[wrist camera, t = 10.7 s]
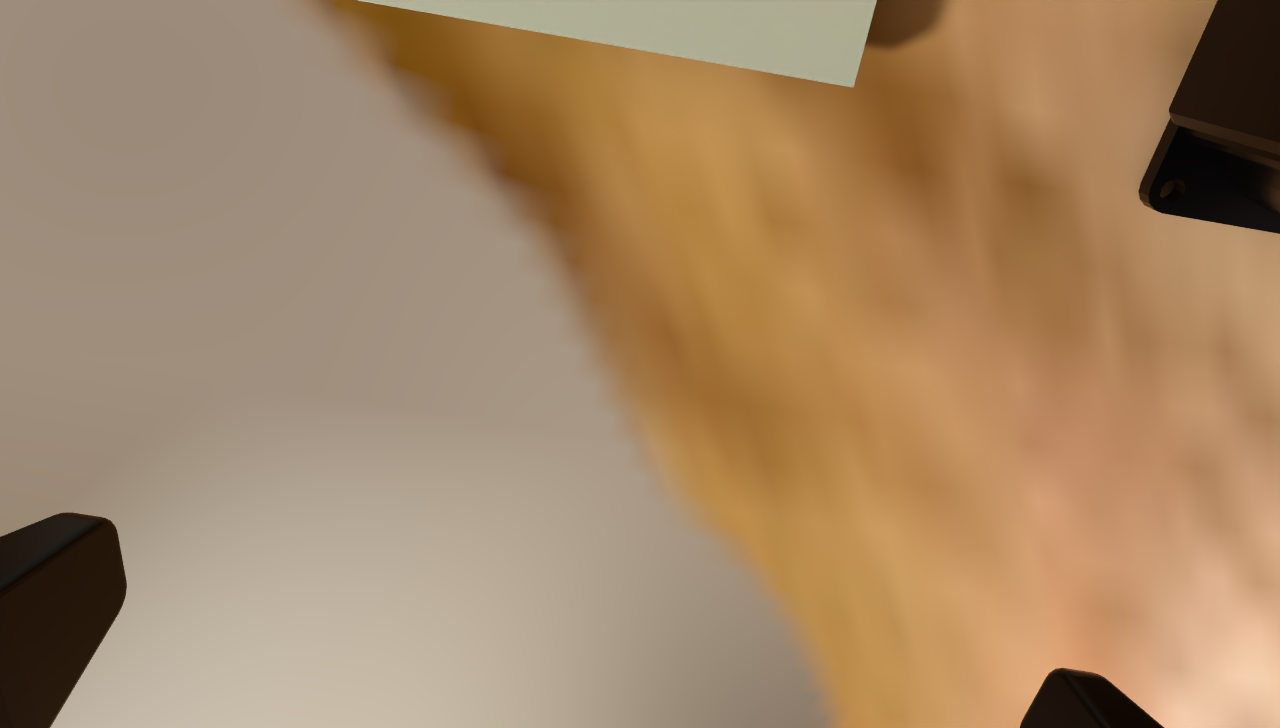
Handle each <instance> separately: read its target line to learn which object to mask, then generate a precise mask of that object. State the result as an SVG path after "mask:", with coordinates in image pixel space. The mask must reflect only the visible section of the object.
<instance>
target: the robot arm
mask: <svg viewBox="0 0 1280 728" xmlns="http://www.w3.org/2000/svg"><path fill="white" fill-rule="evenodd" d="M1169 113H1170V116H1171V117H1170V120H1169V122H1168V124H1167V126H1166V129H1165V131H1164V133H1163V135H1162V137H1161V140H1160V142H1159V144H1158V146H1157V148H1156V151H1155V153H1154V155H1153V157H1152V159H1151V162H1150V164H1149V166H1148V168H1147V170H1146V173H1145V175H1144V177H1143V179H1142V182H1141V184H1140V188H1139V196H1140V200H1141V201H1142V202H1143V203H1144V205H1145V206H1147V207H1149V208H1152V209H1154V210H1156V211H1158V212H1161V213H1164V214H1170V215H1176V216H1181V217H1187V218H1193V219H1199V220H1204V221H1210V222H1216V223H1222V224H1227V225H1233V226H1239V227H1245V228H1250V229H1256V230H1262V231H1268V232H1273V233H1279V234H1280V0H1218V1H1217V3H1216V5H1215V8H1214V10H1213V12H1212V14H1211V17H1210V19H1209V21H1208V23H1207V25H1206V28H1205V30H1204V32H1203V34H1202V37H1201V39H1200V41H1199V43H1198V45H1197V48H1196V50H1195V52H1194V54H1193V57H1192V59H1191V61H1190V63H1189V65H1188V68H1187V70H1186V72H1185V74H1184V77H1183V79H1182V81H1181V83H1180V85H1179V88H1178V90H1177V92H1176V94H1175V97H1174V99H1173V101H1172V103H1171V106H1170V108H1169ZM1171 180H1174V181H1175V185H1174V189H1173V190H1172V192H1171V193H1170V194H1169V195H1167V196H1165V197H1163V198H1161V196H1160V193H1161V189H1162V187H1163V186H1164V185H1165V183H1167V182H1169V181H1171ZM126 588H127V583H126V577H125V571H124V566H123V561H122V555H121V550H120V544H119V539H118V533H117V529H116V527H115V525H114V524H113V523H112V522H111V521H110V520H108V519H106V518H103V517H97V516H91V515H84V514H78V513H60V514H57V515H54V516H51V517H49V518H46V519H44V520H41V521H39V522H36V523H34V524H31V525H29V526H26V527H24V528H21V529H19V530H16V531H14V532H11V533H9V534H7V535H4V536H1V537H0V728H50V727H51V725H52V724H53V722H54V720H55V719H56V717H57V715H58V713H59V712H60V710H61V709H62V707H63V705H64V704H65V702H66V700H67V698H68V697H69V695H70V694H71V692H72V690H73V688H74V687H75V685H76V684H77V682H78V680H79V678H80V677H81V675H82V674H83V672H84V670H85V668H86V667H87V665H88V664H89V662H90V660H91V658H92V657H93V655H94V653H95V652H96V650H97V649H98V647H99V645H100V643H101V642H102V640H103V639H104V637H105V635H106V633H107V632H108V630H109V628H110V627H111V625H112V624H113V622H114V620H115V618H116V617H117V615H118V613H119V611H120V609H121V607H122V605H123V602H124V599H125V596H126ZM1020 728H1164V727H1163V726H1161V725H1160V724H1159V723H1158V722H1157V721H1156V720H1154V719H1153V718H1152V717H1151V716H1150V715H1148V714H1147V713H1146V712H1145V711H1144V710H1143V709H1141V708H1140V707H1139V706H1138V705H1137V704H1135V703H1134V702H1133V701H1132V700H1131V699H1130V698H1128V697H1127V696H1126V695H1125V694H1124V693H1122V692H1121V691H1120V690H1119V689H1118V688H1117V687H1115V686H1114V685H1113V684H1112V683H1111V682H1109V681H1108V680H1107V679H1106V678H1104V677H1102V676H1101V675H1098V674H1095V673H1091V672H1085V671H1079V670H1072V669H1066V668H1058V669H1055V670H1053V671H1052V672H1050V673H1049V674H1048V676H1047V677H1046V679H1045V680H1044V682H1043V684H1042V686H1041V688H1040V689H1039V691H1038V693H1037V695H1036V697H1035V698H1034V700H1033V702H1032V704H1031V706H1030V707H1029V709H1028V711H1027V713H1026V714H1025V716H1024V718H1023V720H1022V722H1021V725H1020Z"/></svg>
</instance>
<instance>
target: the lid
mask: <svg viewBox="0 0 1280 728" xmlns="http://www.w3.org/2000/svg"><path fill="white" fill-rule="evenodd" d="M358 1H364V2H370V3H375V4H381V5H387V6H392V7H398V8H404V9H409V10H415V11H421V12H427V13H432V14H438V15H444V16H449V17H455V18H461V19H466V20H472V21H478V22H483V23H489V24H495V25H501V26H506V27H512V28H518V29H523V30H529V31H535V32H540V33H546V34H552V35H557V36H563V37H569V38H574V39H580V40H586V41H592V42H597V43H603V44H609V45H614V46H620V47H626V48H631V49H637V50H643V51H648V52H654V53H660V54H665V55H671V56H677V57H683V58H688V59H694V60H700V61H705V62H711V63H717V64H722V65H728V66H734V67H739V68H745V69H751V70H757V71H762V72H768V73H774V74H779V75H785V76H791V77H796V78H802V79H808V80H813V81H819V82H825V83H830V84H836V85H842V86H848V87H854V83H855V80H856V76H857V72H858V69H859V65H860V61H861V57H862V54H863V50H864V46H865V43H866V39H867V35H868V31H869V28H870V24H871V20H872V17H873V13H874V9H875V5H876V2H877V0H358Z"/></svg>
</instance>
